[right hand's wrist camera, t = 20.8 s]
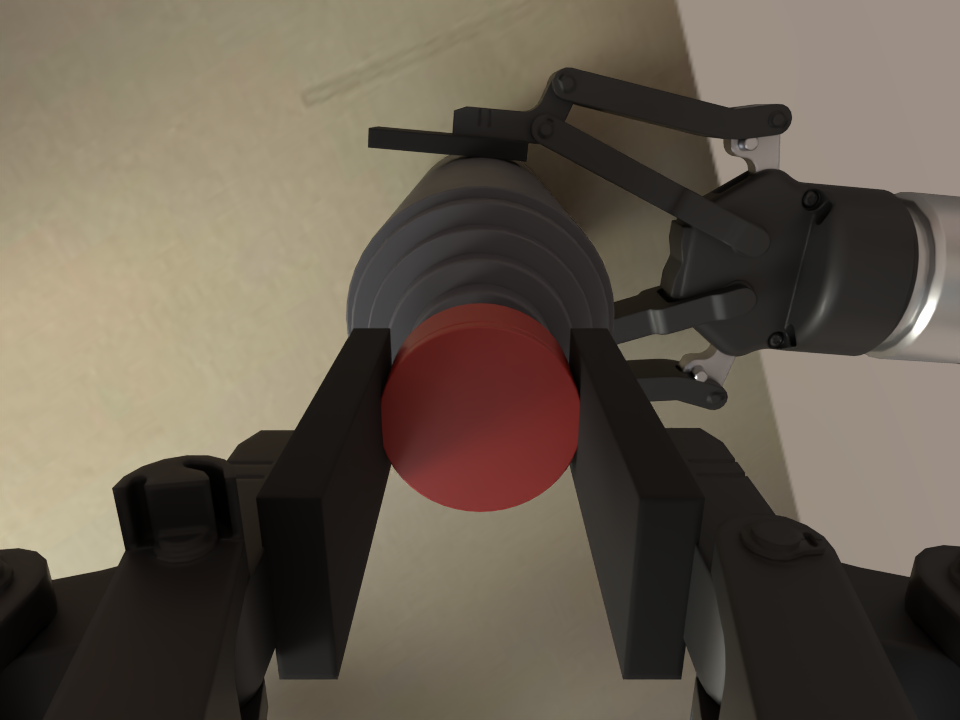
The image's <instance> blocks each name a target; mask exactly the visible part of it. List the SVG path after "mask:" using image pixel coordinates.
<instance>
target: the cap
mask: <svg viewBox="0 0 960 720" xmlns="http://www.w3.org/2000/svg"><path fill="white" fill-rule="evenodd" d="M579 413H580V396H579V393H578V389H577V386H576V383H575V381H574V378H573V375H572V372H571V369H570V366H569V363H568V360H567V358H566V356H565V354H564V352H563V350H562V348H561V346H560V345H559V343H558V342H557V340H556V339H555V338H554V337H553V335H552V334H551V333H550V332H549V331H548V330H547V329H546V328H545V327H544V326H542V325H541V324H540V323H539V322H537V321H536V320H534V319H533V318H531V317H530V316H528V315H526V314H524V313H522V312H520V311H518V310H515V309H512V308H509V307H506V306H501V305H496V304H485V303H476V304H466V305H460V306H455V307H452V308H449V309H446V310H443V311H441V312H439V313H437V314H435V315H433V316H431V317H430V318H428V319H427V320H425V321H424V322H422V323H421V324H420V325H419V326H418V327H416V328H415V329H414V330H413V331H412V332H411V333H410V335H409V336H408V337H407V338H406V339H405V341H404V342H403V344H402V345H401V347H400V348H399V350H398V352H397V354H396V356H395V358H394V361H393V364H392V367H391V370H390V373H389V376H388V378H387V381H386V384H385V387H384V390H383V393H382V396H381V416H382V434H383V448H384V450H385V452H386V455H387V457H388V459H389V461H390V462H391V464H392V466H393V467H394V469H395V470H396V471H397V473H398V474H399V475H400V476H401V478H402V479H403V480H404V481H405V482H406V483H408V484H409V485H410V486H411V487H412V488H413V489H415V490H416V491H417V492H419V493H420V494H421V495H423V496H425V497H427V498H428V499H430V500H432V501H434V502H437V503H439V504H441V505H444V506H447V507H451V508H454V509H459V510H464V511H475V512H486V511H497V510H503V509H507V508H511V507H514V506H518V505H520V504H522V503H525V502H527V501H529V500H531V499H533V498H535V497H536V496H538V495H540V494H541V493H543V492H544V491H545V490H547V489H548V488H549V487H551V486H552V485H553V484H554V483H555V482H556V481H557V480H558V479H559V478H560V477H561V475H562V474H563V473H564V472H565V470H566V469H567V467H568V466H569V464H570V463H571V461H572V459H573V457H574V455H575V453H576V451H577V447H578V431H579Z"/></svg>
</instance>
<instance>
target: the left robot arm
mask: <svg viewBox="0 0 960 720" xmlns="http://www.w3.org/2000/svg"><path fill="white" fill-rule="evenodd" d="M573 104H574V105H578V106H582V107H586V108H590V109H594V110H598V111H602V112H606V113H610V114H614V115H618V116H622V117H626V118H630V119H634V120H638V121H642V122H646V123H650V124H654V125H658V126H662V127H666V128H670V129H674V130H678V131H682V132H686V133H690V134H694V135H699V136H705V137H712V138H720V139H724V148H725V150H726V152H727V153H728V154H730V155H732V156H738V157H741V158H743V159H744V160H745V161H746V163H747V165H748V171H746V172H744V173H743V174H741V175H739V176H737V177H736V178H734V179H732V180H731V181H729V182H727V183H725V184H724V185H722V186H720V187H718V188H717V189H715V190H713V191H711V192H710V193H708V194H706V195H704V196H703V197H702V196H700V195H699V194H697V193H695V192H693V191H691V190H689V189H687V188H685V187H683V186H681V185H679V184H677V183H676V182H674V181H672V180H670V179H668V178H666V177H665V176H663V175H661V174H659V173H657V172H655V171H654V170H652V169H650V168H648V167H646V166H644V165H643V164H641V163H639V162H637V161H635V160H633V159H632V158H630V157H628V156H626V155H624V154H622V153H621V152H619V151H617V150H615V149H613V148H611V147H610V146H608V145H606V144H604V143H602V142H600V141H599V140H597V139H595V138H593V137H591V136H589V135H588V134H586V133H584V132H582V131H580V130H578V129H577V128H575V127H573V126H571V125H569V124H567V123H566V122H565V120H566V118H567V116H568V113H569V111H570V109H571V107H572V105H573ZM791 120H792V115H791V111H790V110H789V108H788V107H787V106H785V105H782V104H757V105H747V106H740V107H732V108H728V107H724V106H720V105H716V104H712V103H708V102H704V101H700V100H696V99H693V98H689V97H685V96H681V95H677V94H673V93H669V92H665V91H661V90H657V89H653V88H649V87H645V86H641V85H637V84H634V83H630V82H626V81H622V80H618V79H614V78H610V77H606V76H602V75H598V74H594V73H590V72H586V71H582V70H578V69H574V68H564V69H561V70H559V71H557V72H555V73H553V74H552V75H551V76H550V78H549V80H548V82H547V86H546V88H545V90H544V92H543V94H542V97H541V99H540V101H539V102H538V104H537V105H536V106H535V107H534V108H533V109H531V110H529V111H524V112H521V111H510V110H499V109H488V108H477V107H464V108H461V109H458V110H454V119H453V133H444V132H433V131H422V130H411V129H399V128H388V127H372V128H369V136H368V147H369V148H380V149H391V150H403V151H414V152H425V153H436V154H447V155H459V156H470V157H481V158H492V159H503V160H515V161H526V160H527V150H528V143H534V144H541V145H543V146H545V147H547V148H548V149H550V150H552V151H554V152H556V153H558V154H560V155H561V156H563V157H565V158H567V159H569V160H571V161H573V162H574V163H576V164H578V165H580V166H582V167H584V168H586V169H588V170H589V171H591V172H593V173H595V174H597V175H599V176H601V177H602V178H604V179H606V180H608V181H610V182H612V183H614V184H615V185H617V186H619V187H621V188H623V189H625V190H627V191H629V192H630V193H632V194H634V195H636V196H638V197H640V198H642V199H643V200H645V201H647V202H649V203H651V204H653V205H655V206H657V207H658V208H660V209H662V210H664V211H666V212H668V213H670V214H671V215H673V216H675V217H677V219H676V220H672V223H671V229H670V234H669V242H670V256H669V258H668V260H667V263H666V265H665V267H664V269H663V273H662V279H661V284H660V286H657V287H653V288H650V289H647V290H644V291H642V292H640V293H639V294H638V295H637V296H634V297H630V298H627V299H623V300H620V301H616V302H614V330H613V335H612V337H613V339H614V341H615V343H616V344H620V343H624V342H627V341H631V340H634V339H638V338H641V337H645V336H648V335H652V334H661V335H664V334H670V333H674V332H677V331H681V330H685V329H688V328H692V327H693V328H694V329H695V330H696V331H697V332H699V333H700V334H701V335H702V336H703V337H704V338H705V339H706V340H707V341H708V342H710V343H711V344H710V346H709V348H708V349H707V350H706V351H704V352H702V353H690V354H685V355H684V356H683V357H682V358H681V360H680V361H675V360H668V359H645V360H627V361H626V362H627V363H628V365H629V367H630V369H631V370H632V372H633V374H634V375H635V377H636V379H637V381H638V382H639V384H640V386H641V388H642V389H643V391H644V393H645V395H646V396H647V398H648V400H649V401H668V400H678V401H682V402H685V403H689V404H692V405H696V406H699V407H703V408H706V409H710V410H716V409H719V408H721V407H722V406H724V404H725V403H726V402H727V398H728V396H727V392H726V391H725V390H724V388H723V387H722V385H723V383H724V381H725V379H726V377H727V374H728V372H729V370H730V368H731V366H732V364H733V361H734V359H735V357H736V356H743V355H746V354H748V353H751V352H753V351H756V350H760V349H777V350H785V351H798V352H810V353H823V354H836V355H849V356H858V355H862V354H866V355H867V356H870V357H874V358H879V359H893V360H909V361H925V362H941V363H956V364H960V197H957V196H946V195H935V194H925V193H914V192H900V193H897V194H893V193H891V192H889V191H886V190H879V189H869V188H858V187H846V186H835V185H824V184H813V183H803V182H798V181H796V180H795V179H793V178H792V177H790V176H789V175H788V174H787V173H785V172H783V171H781V170H779V156H780V134H782V133H783V132H785V131H786V130H787V129H788V127H789V126H790V124H791Z"/></svg>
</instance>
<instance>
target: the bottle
mask: <svg viewBox="0 0 960 720" xmlns="http://www.w3.org/2000/svg"><path fill="white" fill-rule="evenodd" d="M476 303H485V304H496V305H501V306H506V307H509V308H512V309H515V310H518V311H520V312H522V313H524V314H526V315H528V316H530V317H531V318H533V319H534V320H536V321H537V322H539V323H540V324H541V325H542V326H544V327H545V328H546V329H547V330H548V331H549V332H550V333H551V334H552V335H553V337H554V338H555V339H556V340H557V342H558V343H559V345H560V346H561V348H562V350H563V352H564V354H565V356H566V358H567V360H568V363H569V351H570V330H571V328H607V329H608V330H609V332H610V334H611V336H612V335H613V330H614V301H613V293H612V289H611V284H610V280H609V277H608V274H607V272H606V269H605V266H604V264H603V261H602V260H601V258H600V256H599V254H598V252H597V251H596V249H595V247H594V246H593V244H592V243H591V242H590V240H589V239H588V238H587V236H586V235H585V234H584V232H583V231H582V230H581V229H580V228H579V226H578V225H577V224H576V223H575V222H574V220H573V219H572V218H571V217H570V216H569V215H568V213H567V212H566V211H565V210H564V209H563V207H562V206H561V205H560V204H559V203H558V202H557V200H556V199H555V198H554V197H553V196H552V194H551V193H550V192H549V191H548V190H547V189H546V187H545V186H544V185H543V184H542V183H541V181H540V180H539V179H538V178H537V177H536V176H535V174H534V173H533V172H532V171H531V170H530V169H529V168H528V167H527V166H526V165H525V164H523V163H522V162H521V161H515V160H503V159H492V158H481V157H470V156H459V155H449V156H447V157H445V158H444V159H442V160H441V161H439V162H438V163H437V164H436V165H435V166H433V167H432V168H431V169H430V170H429V171H428V173H427V174H426V175H425V176H424V177H423V178H422V180H421V181H420V182H419V183H418V184H417V186H416V187H415V188H414V189H413V190H412V192H411V193H410V194H409V195H408V196H407V198H406V199H405V200H404V201H403V202H402V204H401V205H400V206H399V207H398V208H397V210H396V211H395V212H394V213H393V214H392V215H391V217H390V218H389V219H388V220H387V221H386V223H385V224H384V225H383V226H382V227H381V229H380V230H379V231H378V232H377V233H376V235H375V236H374V237H373V238H372V240H371V241H370V243H369V244H368V246H367V247H366V249H365V250H364V252H363V253H362V255H361V258H360V260H359V262H358V264H357V266H356V268H355V271H354V274H353V277H352V280H351V283H350V287H349V293H348V299H347V314H346V321H347V330H348V337H349V335H350V334H351V332H352V330H353V328H390V334H391V355H392V364H393V361H394V358H395V356H396V354H397V352H398V350H399V348H400V347H401V345H402V344H403V342H404V341H405V339H406V338H407V337H408V336H409V335H410V333H411V332H412V331H413V330H414V329H415V328H416V327H418V326H419V325H420V324H421V323H422V322H424V321H425V320H427V319H428V318H430V317H431V316H433V315H435V314H437V313H439V312H441V311H443V310H446V309H449V308H452V307H455V306H460V305H466V304H476Z"/></svg>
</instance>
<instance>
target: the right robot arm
mask: <svg viewBox="0 0 960 720" xmlns="http://www.w3.org/2000/svg"><path fill="white" fill-rule="evenodd" d="M569 366H570V369H571V372H572V375H573V378H574V381H575V383H576V386H577V389H578V393H579V396H580V413H579V431H578V447H577V451H576V453H575V455H574V457H573V459H572V461H571V463H570V468H571V472H572V476H573V480H574V484H575V488H576V492H577V496H578V500H579V504H580V508H581V512H582V516H583V520H584V524H585V528H586V532H587V537H588V541H589V545H590V549H591V553H592V557H593V561H594V565H595V569H596V573H597V577H598V581H599V585H600V589H601V593H602V597H603V601H604V605H605V609H606V613H607V617H608V621H609V625H610V629H611V633H612V637H613V641H614V645H615V649H616V653H617V657H618V661H619V665H620V669H621V673H622V677H623V679H681V677H682V670H683V662H684V655H685V647H686V646H687V649H688V652H689V654H690V657H691V660H692V662H693V665H694V667H695V670H696V680H695V687H694V694H693V701H692V709H691V716H690V720H960V546H947V545H942V546H936V547H931V548H926V549H924V550H923V551H922V552H921V553H919V554H918V555H917V556H916V557H915V561H914V564H913V568H912V572H911V576H910V577H906V576H901V575H896V574H891V573H885V572H880V571H875V570H870V569H865V568H860V567H856V566H852V565H848V564H844V563H841V562H840V560H839V558H838V556H837V554H836V552H835V550H834V548H833V547H832V546H831V545H830V543H829V542H828V541H827V540H826V539H825V537H824V536H822V535H821V534H819V533H818V532H816V531H815V530H813V529H811V528H810V527H808V526H807V525H805V524H802V523H799V522H797V521H794V520H792V519H789V518H787V517H783V516H778V515H775V513H774V512H773V511H772V509H771V508H770V507H769V505H768V504H767V502H766V501H765V500H764V498H763V497H762V496H761V494H760V493H759V491H758V490H757V489H756V487H755V486H754V485H753V483H752V482H751V480H750V479H749V478H748V476H745V472H744V471H743V469H742V468H741V467H740V465H739V464H738V463H737V462H735V458H734V457H733V456H732V454H731V453H730V452H729V450H728V449H727V447H726V446H725V445H724V443H723V442H721V441H720V440H718V439H717V438H715V437H713V436H712V435H710V434H709V433H707V432H705V431H704V430H702V429H701V428H665V427H664V426H663V424H662V422H661V420H660V419H659V417H658V415H657V414H656V412H655V410H654V408H653V407H652V405H651V403H650V401H649V400H648V398H647V396H646V395H645V393H644V391H643V389H642V388H641V386H640V384H639V382H638V381H637V379H636V377H635V375H634V374H633V372H632V370H631V369H630V367H629V365H628V363H627V362H626V360H625V358H624V356H623V355H622V353H621V351H620V350H619V348H618V346H617V344H616V343H615V341H614V339H613V337H612V336H611V334H610V332H609V330H608V329H607V328H571V330H570V351H569ZM391 367H392V355H391V334H390V328H353V330H352V332H351V334H350V335H349V337H348V339H347V341H346V342H345V344H344V346H343V347H342V349H341V351H340V353H339V354H338V356H337V358H336V360H335V361H334V363H333V365H332V367H331V368H330V370H329V372H328V373H327V375H326V377H325V379H324V380H323V382H322V384H321V386H320V387H319V389H318V391H317V393H316V394H315V396H314V398H313V399H312V401H311V403H310V405H309V406H308V408H307V410H306V412H305V413H304V415H303V417H302V419H301V420H300V422H299V424H298V425H297V427H296V429H295V430H261V431H259V432H258V433H256V434H254V435H253V436H251V437H250V438H248V439H247V440H245V441H243V442H242V443H240V444H239V445H238V446H237V447H236V449H235V450H234V451H233V453H232V454H231V456H230V457H229V458H228V460H227V461H226V460H225V459H221V458H217V457H213V456H208V455H186V456H180V457H174V458H168V459H163V460H160V461H157V462H154V463H151V464H148V465H145V466H142V467H140V468H139V469H137V470H135V471H133V472H131V473H129V474H128V475H126V476H124V477H123V478H122V479H121V480H120V481H119V482H118V483H117V484H116V485H115V486H114V487H113V488H112V489H113V494H114V499H115V503H116V508H117V513H118V517H119V522H120V527H121V532H122V536H123V541H124V546H125V550H126V551H125V553H124V555H123V557H122V559H121V561H120V563H119V565H118V566H117V567H113V568H109V569H105V570H101V571H96V572H91V573H86V574H81V575H76V576H71V577H65V578H60V579H55V580H52V579H51V576H50V572H49V568H48V564H47V560H46V559H45V558H44V557H42V556H41V555H40V554H39V553H38V552H36V551H31V550H25V549H20V548H16V549H3V550H0V720H267V712H268V702H267V694H266V687H265V680H264V676H265V673H266V671H267V668H268V665H269V663H270V660H271V657H272V655H273V652H274V650H275V648H276V656H277V664H278V671H279V679H338V676H339V672H340V668H341V664H342V660H343V656H344V652H345V648H346V644H347V640H348V636H349V632H350V628H351V624H352V620H353V616H354V612H355V608H356V604H357V600H358V596H359V592H360V588H361V584H362V580H363V576H364V572H365V568H366V564H367V560H368V556H369V552H370V548H371V544H372V540H373V536H374V532H375V528H376V524H377V520H378V516H379V512H380V508H381V504H382V500H383V496H384V492H385V488H386V484H387V479H388V475H389V471H390V467H391V462H390V461H389V459H388V457H387V455H386V452H385V450H384V448H383V434H382V416H381V396H382V393H383V390H384V387H385V384H386V381H387V378H388V376H389V373H390V370H391Z"/></svg>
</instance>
